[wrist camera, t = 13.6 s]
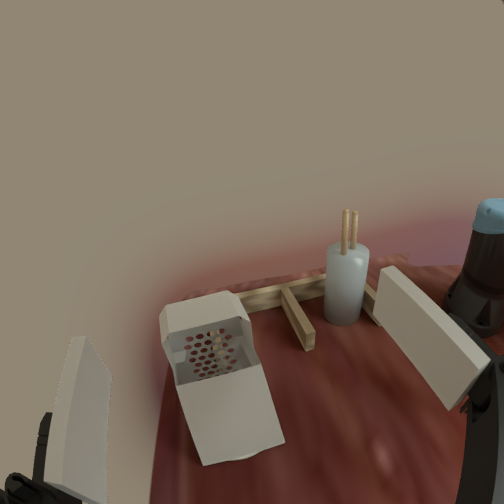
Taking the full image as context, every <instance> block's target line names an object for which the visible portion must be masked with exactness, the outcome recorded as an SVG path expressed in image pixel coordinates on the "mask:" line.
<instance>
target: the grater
mask: <svg viewBox="0 0 504 504" xmlns="http://www.w3.org/2000/svg"><path fill="white" fill-rule="evenodd" d="M239 316H240V317H241V318H242V322H241V319H240V317H239ZM159 321H160V332H161V342H162V346H163V349H164V351H165V353H166V356H167V358H168V360H169V362H170V365H171V367H172V369H173V374H174V380H175V386H176V389H177V392H178V396H179V399H180V402H181V405H182V408H183V412H184V415H185V418H186V421H187V423H188V426H189V429H190V432H191V435H192V438H193V441H194V443H195V446H196V449H197V451H198V454H199V456H200V459H201V462H202V464H203V466H206V465H210V464H215V463H219V462H223V461H227V460H231V459H235V458H239V457H242V456H246V455H249V454H253V453H256V452H259V451H262V450H266V449H269V448H272V447H275V446H278V445H280V444H283V443H285V440H284V437H283V433H282V430H281V427H280V424H279V421H278V417H277V414H276V411H275V408H274V404H273V401H272V398H271V395H270V391H269V388H268V385H267V381H266V378H265V375H264V371H263V368H262V365H261V362H260V360H259V358H258V356H257V354H256V352H255V350H254V343H253V335H252V327H251V321H250V319H249V317H248V315H247V313H246V311H245V309H244V307H243V305H242V303H241V301H240V299H239V297H238V296H236V295H234V294H233V293H231V292H229V291H228V290H226V291H222V292H218V293H214V294H210V295H206V296H202V297H198V298H194V299H189V300H185V301H181V302H177V303H173V304H168V305H165V307H164V309H163V310H162V312H161V314H160V315H159ZM220 328H223V329H225V332H224V333H222V334H218V333H217V330H218V329H220ZM209 331H213V332H214V333H215V334H214V335H213V336H211V337H209V336H207V333H208V332H209ZM198 334H203V335H204V337H203V338H202V339H197V338H196V335H198ZM226 335H232V338H231V339H229V340H226V339H225V336H226ZM167 336H168V339H167ZM188 336H191V337H193V341H191V342H187V341H186V340H185V339H186V337H188ZM217 337H221V338H222V341H221V342H215V339H216V338H217ZM206 340H211V341H212V343H211V344H210V345H205V344H204V342H205V341H206ZM198 342H199V343H201V344H202V346H201V347H198V348H196V347H194V344H195V343H198ZM222 343H227V344H228V345H227V347H225V348H221V347H220V345H221V344H222ZM186 345H191V346H192V348H191V349H190V350H185V349H184V346H186ZM213 345H216V346H218V348H217V349H216V350H211V349H210V348H211V346H213ZM202 348H207V349H208V351H207V352H205V353H201V352H200V350H201V349H202ZM230 348H234V349H235V350H234V351H233V352H231V353H229V352H227V350H228V349H230ZM193 350H196V351H198V354H196V355H191V354H190V352H191V351H193ZM219 351H225V354H223V355H218V352H219ZM210 353H214V354H215V356H214V357H212V358H209V357H208V355H209V354H210ZM226 355H229V356H230V358H229V359H227V360H224V359H223V357H224V356H226ZM199 356H205V357H206V358H205V359H204V360H199V359H198V357H199ZM190 358H195V359H196V361H195V362H189V359H190ZM216 358H220V359H221V360H220V361H219V362H214V359H216ZM233 359H235V360H237V361H236V362H235V363H233V364H231V363H230V361H231V360H233ZM207 360H210V361H211V363H210V364H208V365H206V364H204V362H205V361H207ZM222 362H227V365H225V366H221V363H222ZM196 363H202V365H201V366H200V367H196V366H195V364H196ZM214 364H217V365H218V367H217V368H214V369H213V368H211V366H212V365H214ZM175 366H176V368H175ZM228 366H232V369H230V370H226V367H228ZM203 367H209V369H208V370H207V371H203V370H202V368H203ZM220 368H222V369H224V370H223V371H222V372H217V370H218V369H220ZM195 369H200V372H198V373H194V372H193V370H195ZM234 370H238V371H235V372H232V371H234ZM176 371H177V374H176ZM209 371H214V374H212V375H208V372H209ZM226 372H229V373H227V374H224V373H226ZM201 373H205V374H206V375H205V376H204V377H199V374H201ZM223 374H224V375H223ZM216 375H220V376H216ZM214 376H216V377H214ZM177 377H178V379H177ZM207 377H212V378H208V379H206V378H207ZM199 379H203V380H200V381H198V380H199ZM178 382H179V385H178ZM180 383H181V384H180Z"/></svg>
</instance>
